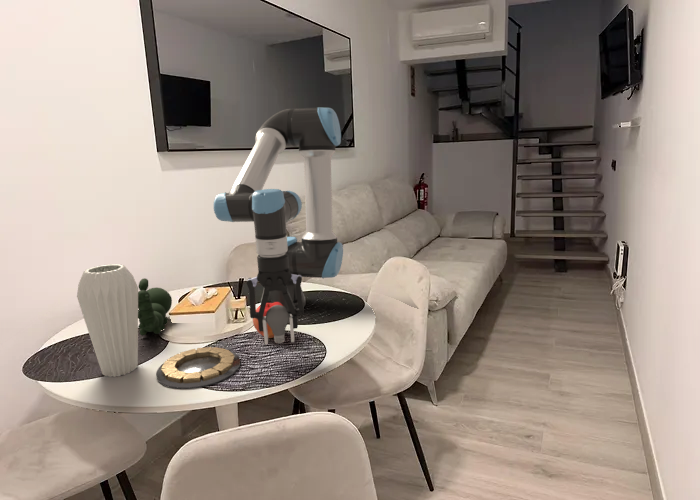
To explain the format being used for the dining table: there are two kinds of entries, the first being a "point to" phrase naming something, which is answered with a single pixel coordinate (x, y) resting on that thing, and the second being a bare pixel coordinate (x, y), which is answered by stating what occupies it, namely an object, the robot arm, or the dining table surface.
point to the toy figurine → (152, 308)
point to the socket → (198, 368)
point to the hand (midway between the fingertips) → (279, 340)
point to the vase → (111, 316)
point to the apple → (267, 307)
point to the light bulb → (278, 321)
